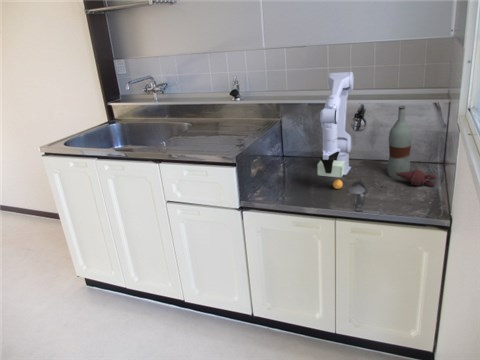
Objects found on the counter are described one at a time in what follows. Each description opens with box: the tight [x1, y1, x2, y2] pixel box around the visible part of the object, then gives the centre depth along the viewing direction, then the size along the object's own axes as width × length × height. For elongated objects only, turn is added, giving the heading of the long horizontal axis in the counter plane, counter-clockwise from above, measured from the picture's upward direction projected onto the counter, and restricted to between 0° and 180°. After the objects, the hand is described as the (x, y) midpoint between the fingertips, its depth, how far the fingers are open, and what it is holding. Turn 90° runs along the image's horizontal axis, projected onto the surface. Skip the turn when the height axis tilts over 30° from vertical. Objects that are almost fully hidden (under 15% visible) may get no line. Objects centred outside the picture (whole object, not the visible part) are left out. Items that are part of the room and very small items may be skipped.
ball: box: [332, 179, 344, 190], centre depth 165 cm, size 4×4×4 cm
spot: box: [346, 186, 366, 195], centre depth 162 cm, size 7×7×1 cm
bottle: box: [387, 105, 413, 180], centre depth 166 cm, size 9×9×30 cm
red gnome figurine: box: [396, 168, 437, 187], centre depth 161 cm, size 7×7×15 cm
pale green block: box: [316, 159, 345, 178], centre depth 163 cm, size 6×10×5 cm, turn 63°
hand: (330, 170), depth 164 cm, fingers closed on pale green block, 6 cm apart
